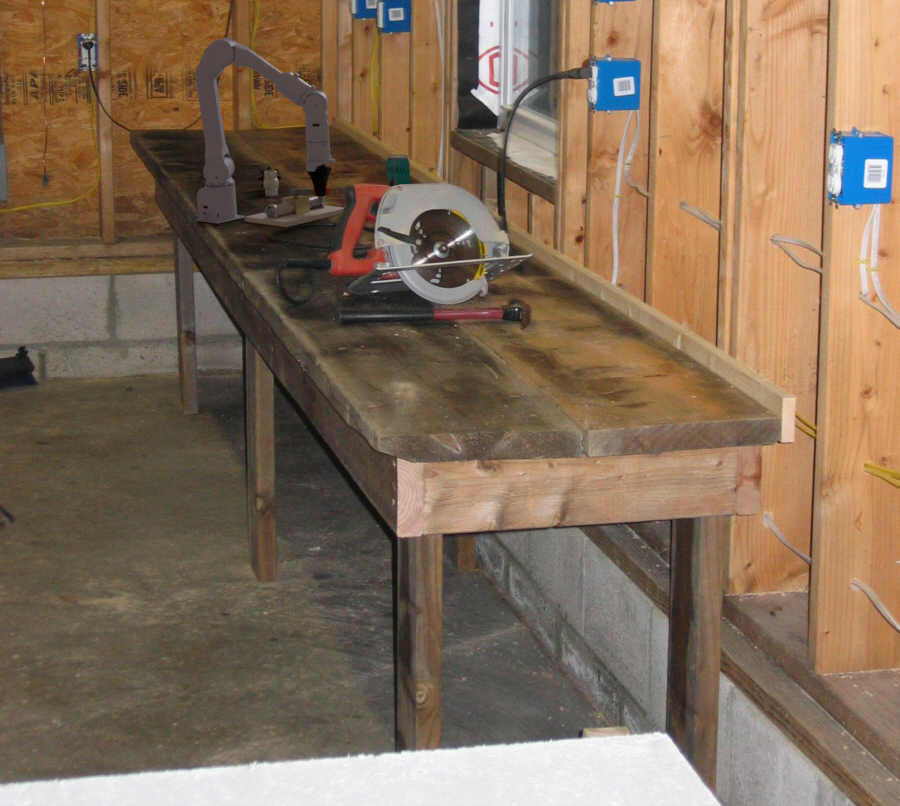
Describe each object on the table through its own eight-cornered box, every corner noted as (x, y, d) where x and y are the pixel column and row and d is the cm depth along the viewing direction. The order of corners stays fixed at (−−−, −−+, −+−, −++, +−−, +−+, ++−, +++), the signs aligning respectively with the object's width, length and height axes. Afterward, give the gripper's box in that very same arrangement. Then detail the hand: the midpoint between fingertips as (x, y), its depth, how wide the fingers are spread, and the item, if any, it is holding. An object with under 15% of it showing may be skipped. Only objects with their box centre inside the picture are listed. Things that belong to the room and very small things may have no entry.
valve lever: (289, 196, 353) (289, 189, 352) (290, 194, 355) (290, 187, 355) (331, 195, 353) (330, 188, 352) (331, 193, 356) (331, 186, 355)
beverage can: (384, 216, 354) (381, 155, 350) (404, 213, 357) (402, 153, 352) (395, 219, 350) (392, 158, 345) (415, 216, 352) (413, 156, 348)
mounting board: (286, 227, 343) (286, 222, 343) (245, 221, 352) (245, 216, 351) (346, 212, 360) (346, 208, 360) (306, 207, 368) (305, 203, 368)
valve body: (278, 220, 347) (277, 202, 346) (264, 218, 350) (263, 200, 349) (327, 209, 361) (326, 191, 359) (313, 207, 364) (312, 189, 362)
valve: (284, 196, 387) (282, 189, 398) (282, 171, 384) (280, 165, 396) (260, 197, 386) (258, 190, 397) (258, 173, 383) (256, 166, 395)
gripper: (324, 145, 341) (327, 201, 345) (342, 137, 354) (344, 191, 358) (296, 145, 342) (299, 201, 346) (315, 137, 355) (318, 191, 360)
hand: (320, 196), depth 352 cm, fingers closed, pressing on valve lever
